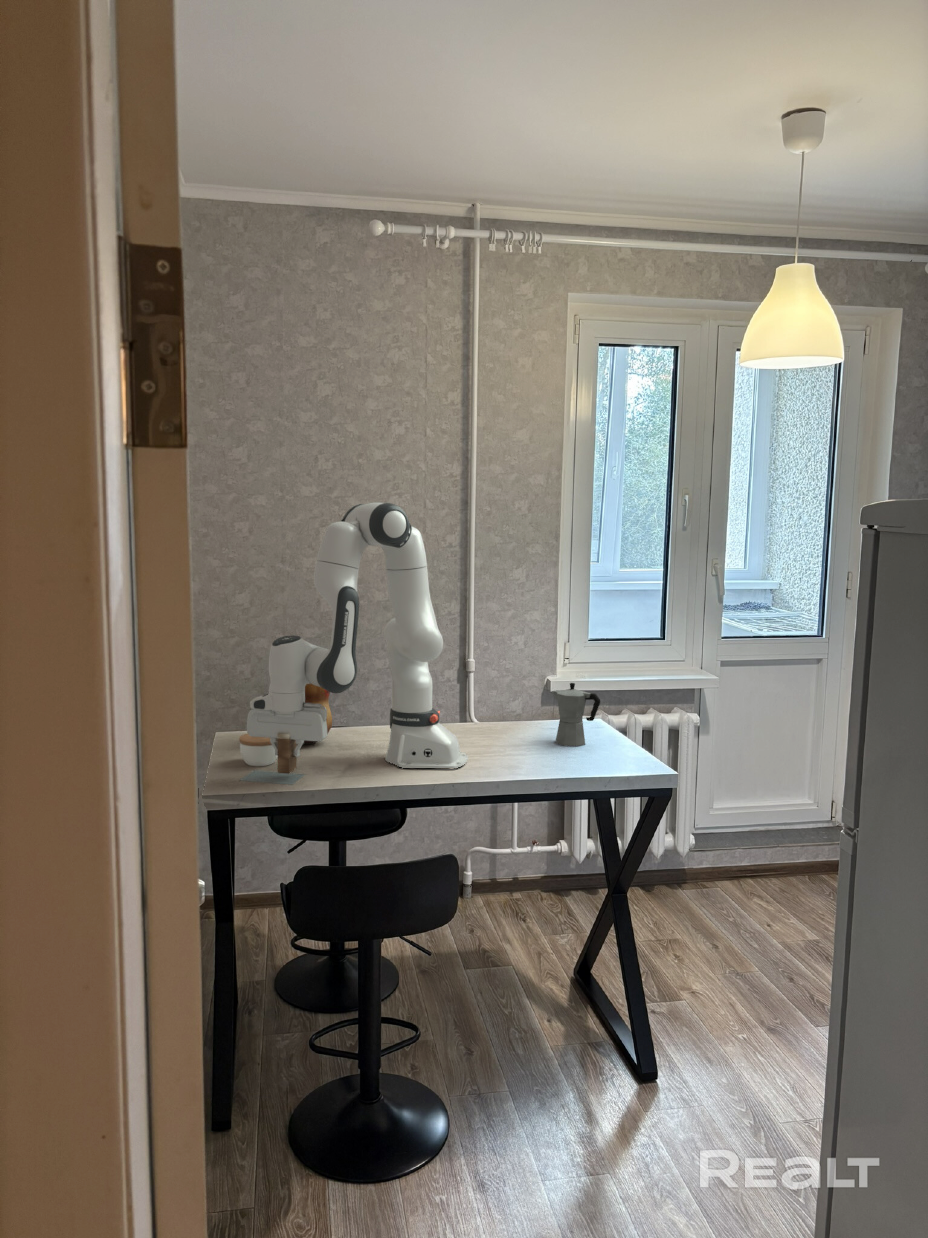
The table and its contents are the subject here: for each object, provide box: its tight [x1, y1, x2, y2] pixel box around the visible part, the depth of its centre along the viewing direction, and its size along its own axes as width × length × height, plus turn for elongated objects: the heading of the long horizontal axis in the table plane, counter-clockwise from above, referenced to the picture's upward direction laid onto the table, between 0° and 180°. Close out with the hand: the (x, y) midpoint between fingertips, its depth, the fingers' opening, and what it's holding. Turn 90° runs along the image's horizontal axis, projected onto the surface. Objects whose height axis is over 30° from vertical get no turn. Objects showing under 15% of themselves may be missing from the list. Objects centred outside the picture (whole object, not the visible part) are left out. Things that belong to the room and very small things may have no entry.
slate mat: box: [238, 769, 307, 786], centre depth 234 cm, size 14×9×1 cm, turn 79°
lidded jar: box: [238, 733, 278, 767], centre depth 247 cm, size 11×11×9 cm
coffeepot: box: [550, 682, 601, 747], centre depth 274 cm, size 15×9×18 cm, turn 61°
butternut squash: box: [303, 684, 333, 745], centre depth 269 cm, size 14×13×25 cm
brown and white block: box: [277, 733, 298, 774], centre depth 233 cm, size 3×5×10 cm, turn 169°
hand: (287, 755), depth 233 cm, fingers closed on brown and white block, 3 cm apart
